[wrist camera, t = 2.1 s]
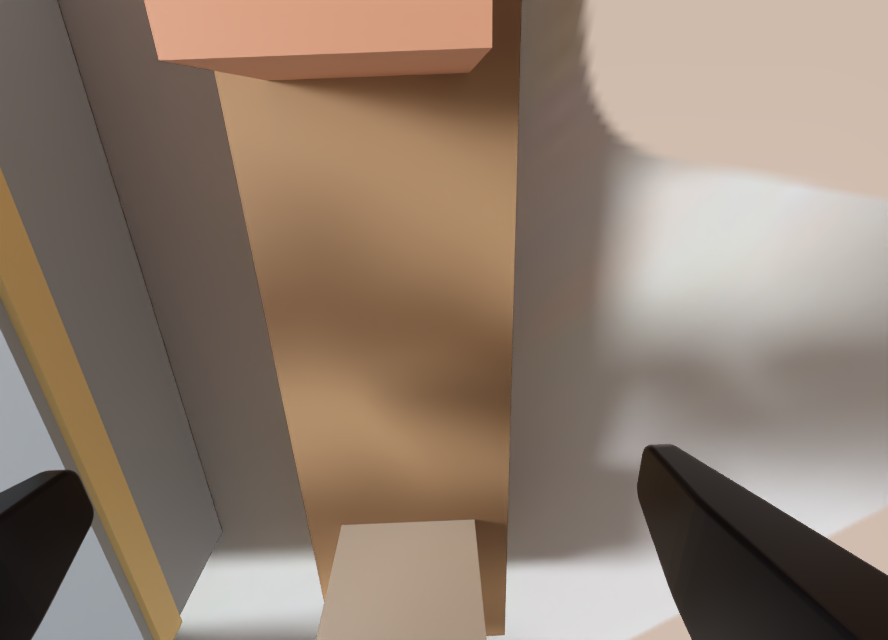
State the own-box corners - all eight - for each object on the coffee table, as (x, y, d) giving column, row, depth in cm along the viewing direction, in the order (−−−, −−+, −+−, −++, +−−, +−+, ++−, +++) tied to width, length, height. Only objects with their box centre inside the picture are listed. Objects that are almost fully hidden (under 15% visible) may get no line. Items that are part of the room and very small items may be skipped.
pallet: (491, 539, 20) (504, 634, 16) (351, 545, 20) (332, 642, 16) (497, -191, 11) (530, -347, 7) (234, -182, 11) (130, -334, 7)
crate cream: (475, 607, 16) (488, 757, 12) (356, 612, 16) (333, 764, 12) (474, 519, 14) (488, 661, 10) (341, 525, 14) (309, 669, 10)
